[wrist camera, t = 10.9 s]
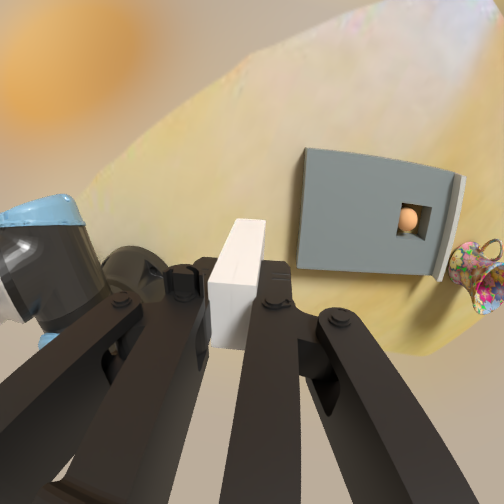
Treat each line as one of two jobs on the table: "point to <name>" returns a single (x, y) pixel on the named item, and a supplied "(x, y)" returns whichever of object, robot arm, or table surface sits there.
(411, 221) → the ball
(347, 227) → the board
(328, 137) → the table surface
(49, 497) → the robot arm
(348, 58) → the table surface
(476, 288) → the mug
